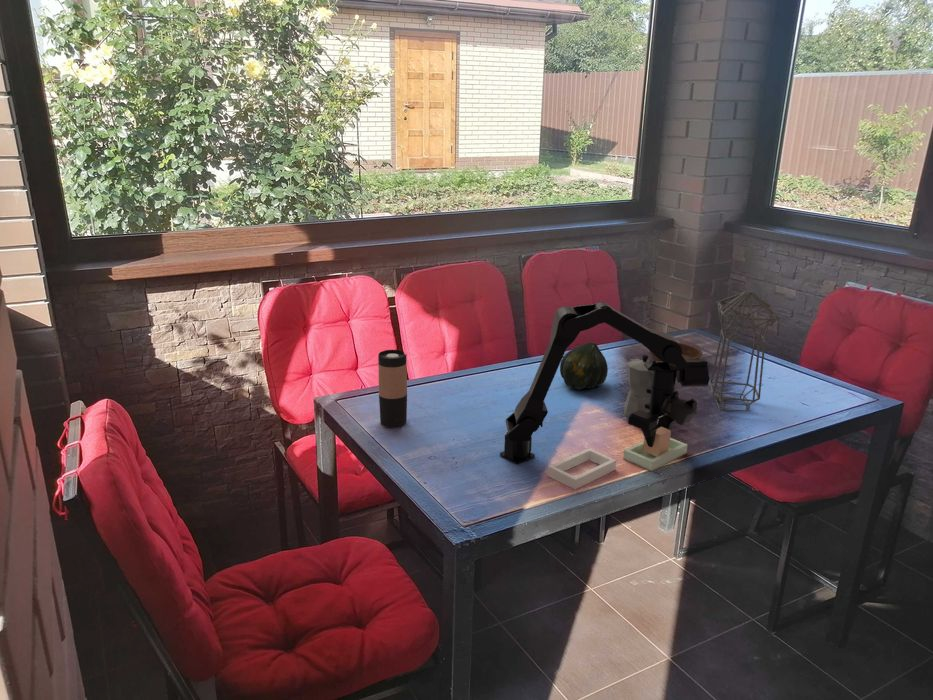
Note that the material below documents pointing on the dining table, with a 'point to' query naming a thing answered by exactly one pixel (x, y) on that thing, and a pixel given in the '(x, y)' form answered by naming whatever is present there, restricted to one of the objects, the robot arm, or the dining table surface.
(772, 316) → the geometric lantern
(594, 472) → the grey bin
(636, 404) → the coffeepot
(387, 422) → the travel mug
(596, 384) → the squash
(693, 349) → the dish
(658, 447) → the tan block
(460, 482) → the dining table surface
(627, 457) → the green bin
